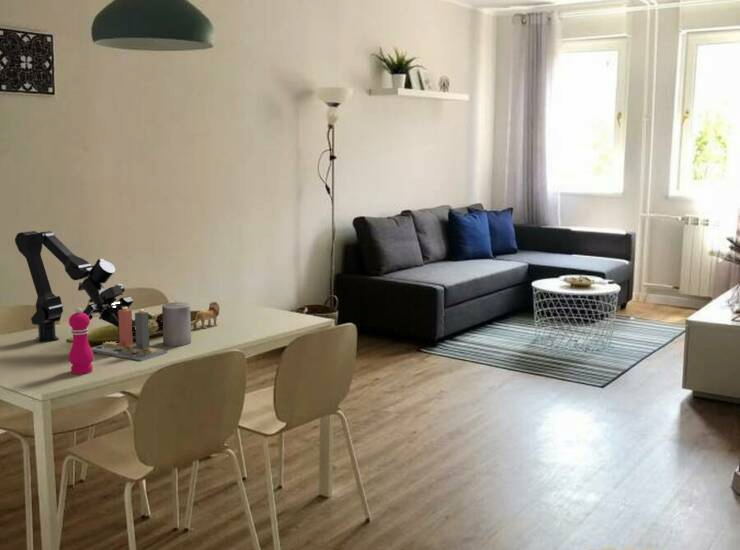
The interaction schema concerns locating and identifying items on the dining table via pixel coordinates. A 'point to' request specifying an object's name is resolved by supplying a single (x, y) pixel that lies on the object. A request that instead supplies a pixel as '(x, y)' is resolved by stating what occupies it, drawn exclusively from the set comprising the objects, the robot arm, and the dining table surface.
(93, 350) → the bolt plate
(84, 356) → the pepper mill
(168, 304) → the pillar candle
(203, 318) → the lion figurine
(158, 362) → the dining table surface
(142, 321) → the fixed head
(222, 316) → the dining table surface
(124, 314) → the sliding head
